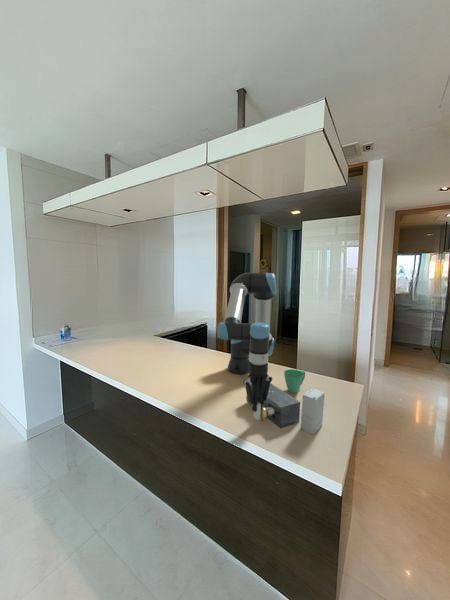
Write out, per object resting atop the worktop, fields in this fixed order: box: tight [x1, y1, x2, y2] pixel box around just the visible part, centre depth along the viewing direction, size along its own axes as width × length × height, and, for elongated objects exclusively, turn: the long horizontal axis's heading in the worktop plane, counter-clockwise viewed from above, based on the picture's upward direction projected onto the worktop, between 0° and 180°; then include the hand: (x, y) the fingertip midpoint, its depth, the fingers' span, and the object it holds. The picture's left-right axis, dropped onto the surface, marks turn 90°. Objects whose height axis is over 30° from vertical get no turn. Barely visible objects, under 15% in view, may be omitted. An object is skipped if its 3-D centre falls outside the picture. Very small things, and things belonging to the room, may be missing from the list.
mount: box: [250, 382, 301, 429], centre depth 118 cm, size 24×10×9 cm, turn 28°
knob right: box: [259, 406, 275, 422], centre depth 110 cm, size 5×12×5 cm, turn 117°
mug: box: [283, 368, 306, 394], centre depth 140 cm, size 15×10×10 cm
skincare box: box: [300, 387, 325, 435], centre depth 105 cm, size 8×6×15 cm
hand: (256, 417), depth 107 cm, fingers closed
